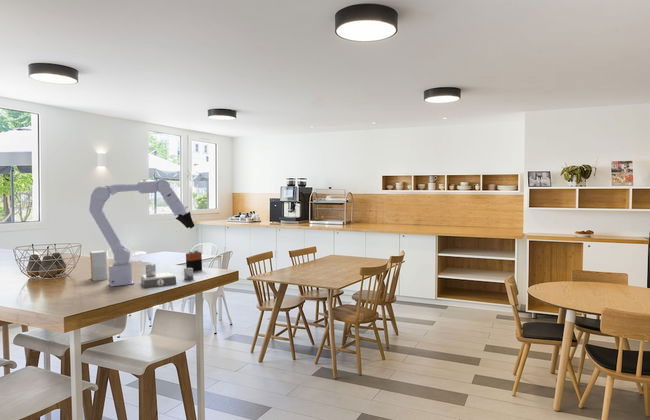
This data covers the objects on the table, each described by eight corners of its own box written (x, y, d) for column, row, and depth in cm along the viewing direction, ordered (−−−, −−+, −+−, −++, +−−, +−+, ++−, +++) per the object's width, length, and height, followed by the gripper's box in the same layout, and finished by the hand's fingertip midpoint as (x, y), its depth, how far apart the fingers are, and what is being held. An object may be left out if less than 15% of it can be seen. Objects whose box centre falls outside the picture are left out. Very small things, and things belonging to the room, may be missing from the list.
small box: (91, 278, 213) (89, 251, 213) (105, 276, 217) (104, 249, 216) (92, 280, 206) (91, 253, 206) (107, 279, 210) (106, 251, 209)
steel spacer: (185, 280, 202) (184, 269, 202) (183, 279, 206) (183, 268, 206) (194, 279, 204) (193, 268, 204) (192, 278, 208) (191, 267, 207)
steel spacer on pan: (146, 277, 192) (146, 265, 192) (145, 276, 196) (145, 264, 196) (156, 276, 194) (156, 264, 194) (155, 275, 198) (154, 263, 198)
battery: (202, 270, 228) (201, 250, 228) (191, 272, 223) (190, 252, 222) (197, 269, 231) (196, 250, 230) (186, 271, 225) (185, 251, 225)
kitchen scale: (144, 288, 188) (144, 279, 188) (141, 283, 199) (140, 275, 198) (176, 284, 194) (176, 276, 194) (171, 279, 205) (171, 271, 205)
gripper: (184, 197, 201) (201, 222, 204) (178, 198, 213) (194, 222, 217) (170, 206, 198) (188, 231, 201) (165, 206, 211) (182, 230, 214)
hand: (190, 227), depth 209 cm, fingers open, 7 cm apart
